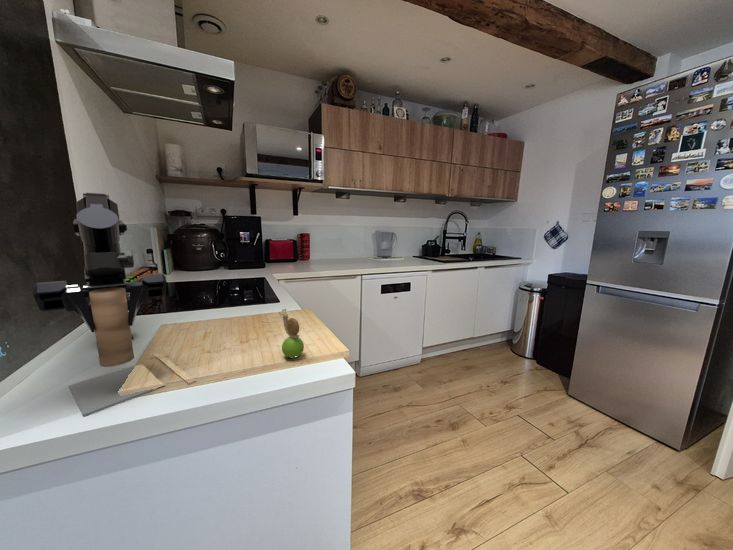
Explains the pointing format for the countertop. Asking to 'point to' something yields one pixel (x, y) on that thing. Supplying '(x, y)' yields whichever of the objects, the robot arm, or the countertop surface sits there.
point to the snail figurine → (291, 337)
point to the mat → (102, 391)
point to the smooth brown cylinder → (111, 326)
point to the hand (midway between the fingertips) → (112, 327)
